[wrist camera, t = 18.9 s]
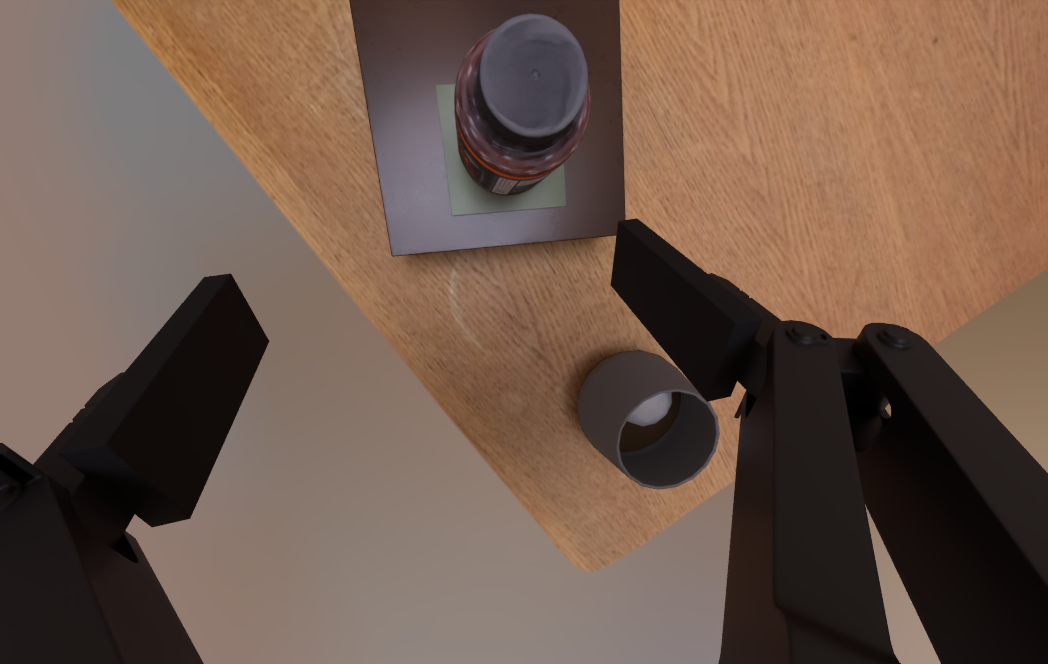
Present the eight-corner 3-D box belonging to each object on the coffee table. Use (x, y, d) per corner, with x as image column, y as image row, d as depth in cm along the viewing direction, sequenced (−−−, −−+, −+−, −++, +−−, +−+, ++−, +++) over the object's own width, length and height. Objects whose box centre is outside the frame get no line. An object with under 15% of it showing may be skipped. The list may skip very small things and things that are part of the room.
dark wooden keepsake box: (405, 254, 31) (391, 256, 25) (369, 24, 27) (342, -38, 21) (598, 236, 33) (627, 234, 27) (588, 18, 29) (619, -40, 23)
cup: (645, 323, 35) (711, 352, 26) (675, 408, 38) (746, 465, 28) (550, 367, 35) (582, 413, 25) (587, 450, 37) (629, 522, 28)
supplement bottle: (444, 110, 24) (425, -5, 13) (537, 85, 24) (594, -47, 13) (474, 209, 25) (480, 182, 14) (561, 183, 26) (631, 138, 15)
